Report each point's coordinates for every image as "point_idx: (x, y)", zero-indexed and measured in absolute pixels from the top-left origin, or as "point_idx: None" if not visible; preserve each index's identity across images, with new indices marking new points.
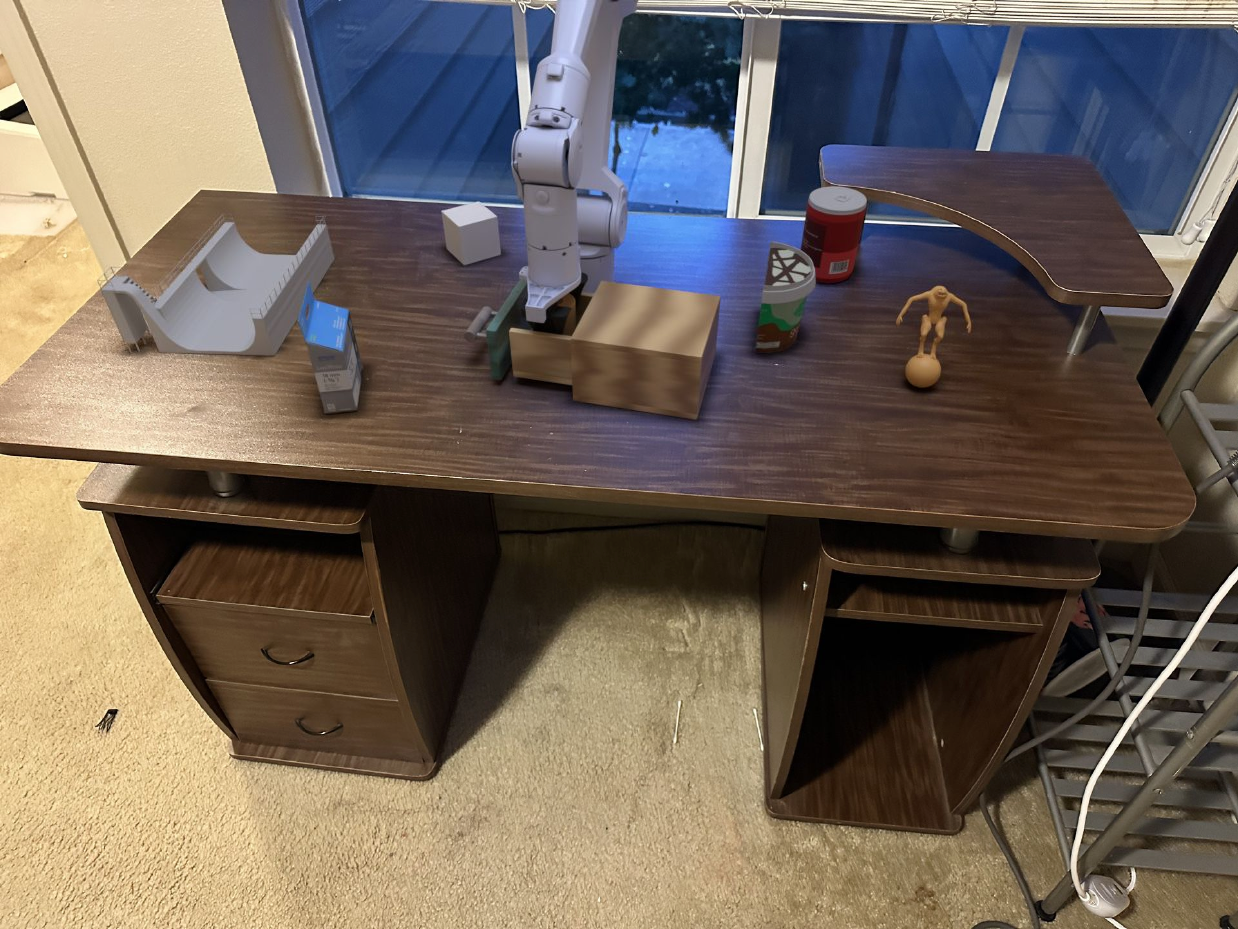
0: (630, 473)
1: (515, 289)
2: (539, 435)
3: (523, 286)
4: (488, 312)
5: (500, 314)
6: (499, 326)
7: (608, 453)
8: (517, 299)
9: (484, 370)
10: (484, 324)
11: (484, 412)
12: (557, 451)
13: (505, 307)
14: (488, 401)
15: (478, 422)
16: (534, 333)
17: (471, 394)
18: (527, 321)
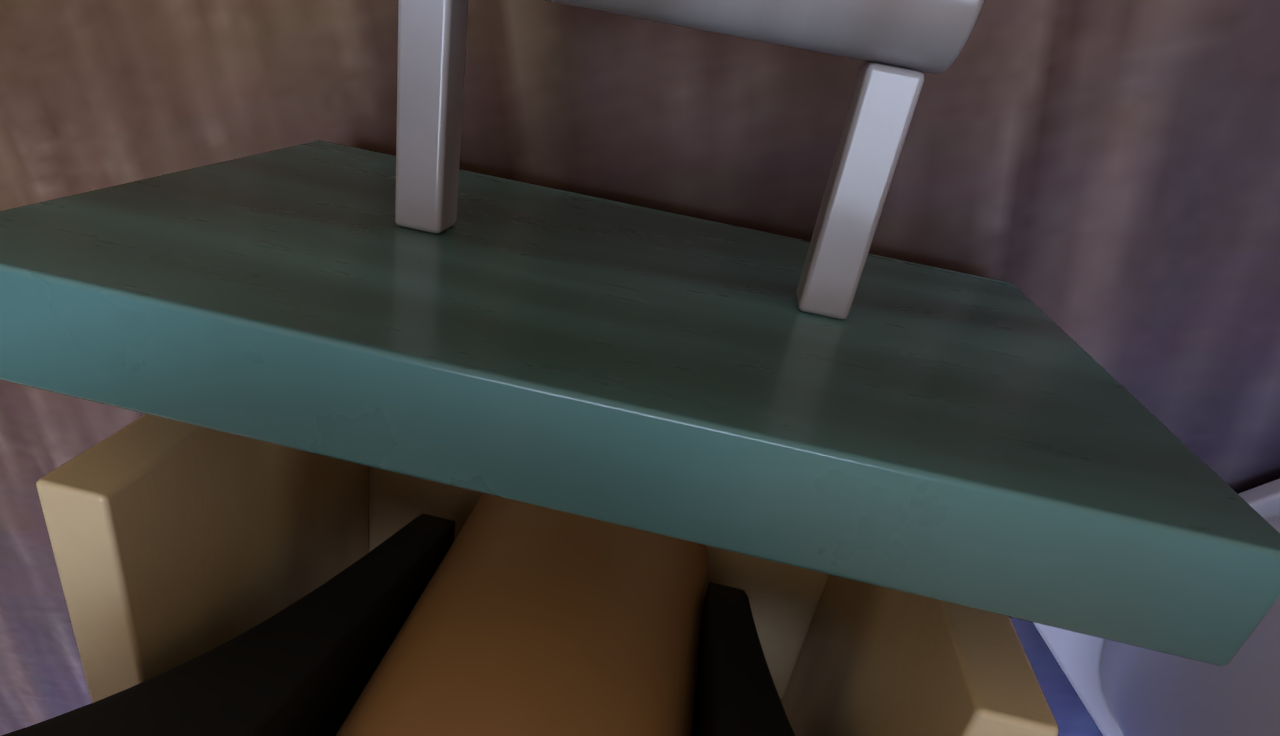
0: (22, 703)
1: (956, 513)
2: (58, 427)
3: (1033, 608)
4: (859, 36)
5: (260, 378)
6: (43, 385)
7: (79, 654)
8: (703, 532)
9: (493, 43)
10: (658, 21)
11: (97, 133)
12: (4, 498)
13: (445, 421)
14: (195, 138)
15: (8, 114)
16: (102, 685)
17: (221, 6)
18: (76, 712)
